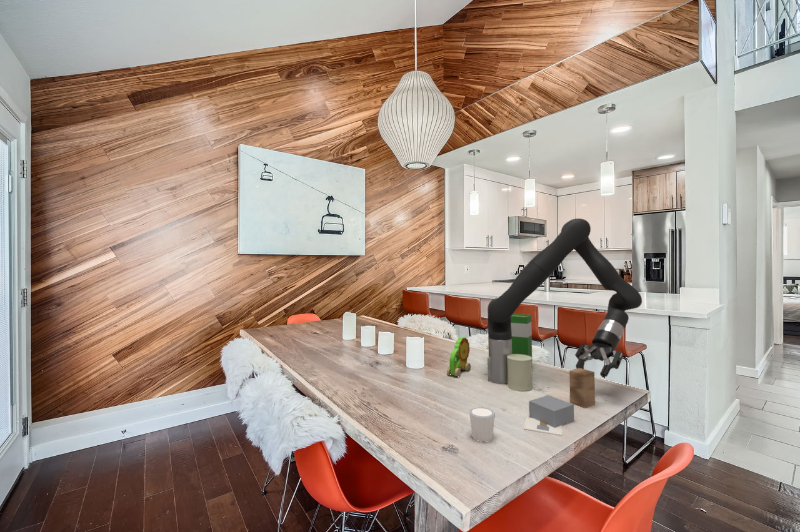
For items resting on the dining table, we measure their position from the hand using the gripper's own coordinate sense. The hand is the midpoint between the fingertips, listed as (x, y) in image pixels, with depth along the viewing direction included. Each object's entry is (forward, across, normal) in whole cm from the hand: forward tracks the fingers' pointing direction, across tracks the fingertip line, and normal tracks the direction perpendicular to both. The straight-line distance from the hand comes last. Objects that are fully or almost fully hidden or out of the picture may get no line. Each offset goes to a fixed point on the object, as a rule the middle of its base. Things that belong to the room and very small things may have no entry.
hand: (589, 372), depth 120 cm
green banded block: (+2, -42, +12) cm, 44 cm away
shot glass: (+41, -1, -27) cm, 49 cm away
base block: (+23, +2, -9) cm, 25 cm away
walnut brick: (+10, 0, +4) cm, 11 cm away
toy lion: (+19, -49, -5) cm, 53 cm away
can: (+13, -22, 0) cm, 26 cm away
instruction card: (+27, +4, -14) cm, 31 cm away
